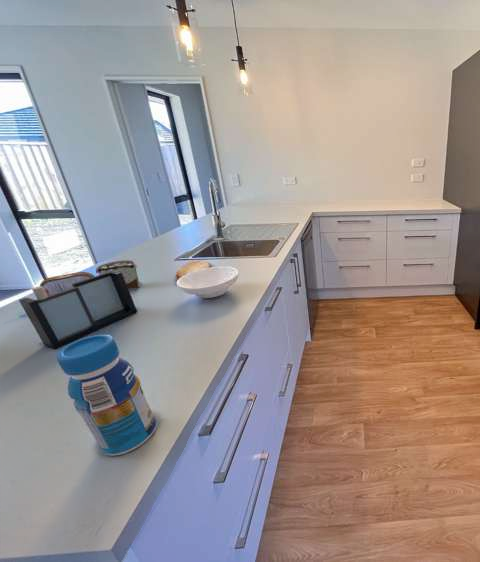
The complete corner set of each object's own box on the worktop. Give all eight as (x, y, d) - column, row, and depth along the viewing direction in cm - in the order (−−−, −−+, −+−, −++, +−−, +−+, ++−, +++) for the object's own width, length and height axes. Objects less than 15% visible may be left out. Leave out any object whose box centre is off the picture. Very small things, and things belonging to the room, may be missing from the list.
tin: (101, 289, 114) (92, 268, 111) (101, 291, 112) (92, 271, 108) (46, 301, 105) (34, 279, 102) (45, 304, 103) (33, 282, 100)
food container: (148, 281, 120) (140, 257, 116) (144, 287, 115) (135, 263, 110) (111, 286, 116) (101, 262, 112) (104, 293, 111) (93, 268, 106)
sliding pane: (58, 340, 80) (31, 290, 74) (55, 338, 81) (27, 289, 75) (96, 324, 87) (74, 277, 81) (92, 322, 88) (70, 276, 82)
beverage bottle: (87, 454, 51) (30, 361, 43) (131, 414, 59) (89, 328, 51) (130, 461, 50) (79, 366, 42) (169, 419, 58) (133, 332, 49)
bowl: (168, 303, 102) (162, 284, 99) (212, 280, 119) (208, 264, 116) (214, 310, 97) (209, 291, 94) (253, 285, 114) (250, 269, 111)
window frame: (54, 349, 79) (28, 303, 73) (44, 345, 81) (18, 299, 75) (137, 312, 97) (121, 272, 91) (127, 309, 99) (111, 270, 93)
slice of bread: (198, 263, 138) (196, 255, 136) (226, 268, 131) (224, 260, 129) (159, 277, 123) (156, 269, 122) (187, 284, 116) (184, 275, 114)
